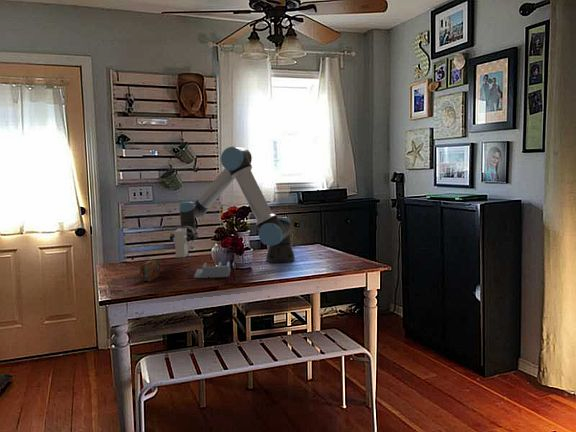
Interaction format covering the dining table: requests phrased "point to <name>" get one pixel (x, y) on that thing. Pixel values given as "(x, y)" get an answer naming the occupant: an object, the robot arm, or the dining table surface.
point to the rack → (213, 271)
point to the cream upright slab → (181, 242)
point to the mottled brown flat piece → (149, 270)
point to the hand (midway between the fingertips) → (179, 240)
